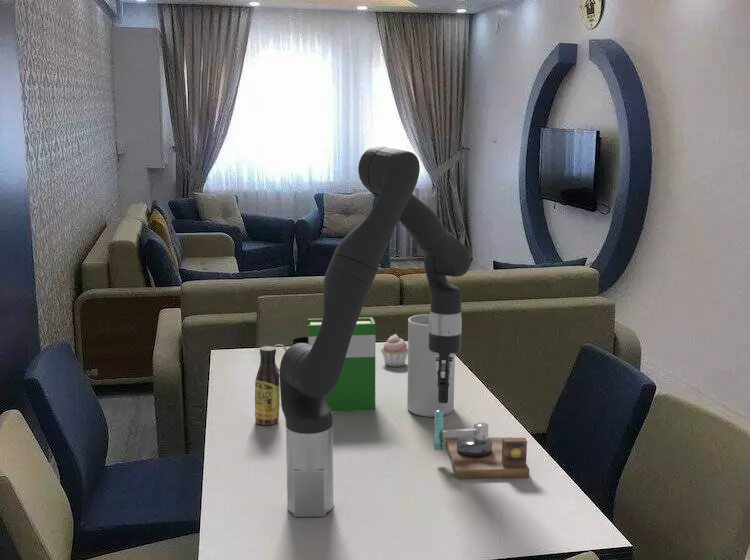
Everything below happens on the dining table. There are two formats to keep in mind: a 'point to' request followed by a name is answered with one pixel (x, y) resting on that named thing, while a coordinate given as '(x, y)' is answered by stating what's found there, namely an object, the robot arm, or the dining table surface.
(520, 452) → the stand
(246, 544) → the dining table surface
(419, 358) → the cylinder vase
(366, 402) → the hardback book
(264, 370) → the sauce bottle
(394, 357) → the cupcake
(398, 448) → the dining table surface
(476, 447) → the lever
